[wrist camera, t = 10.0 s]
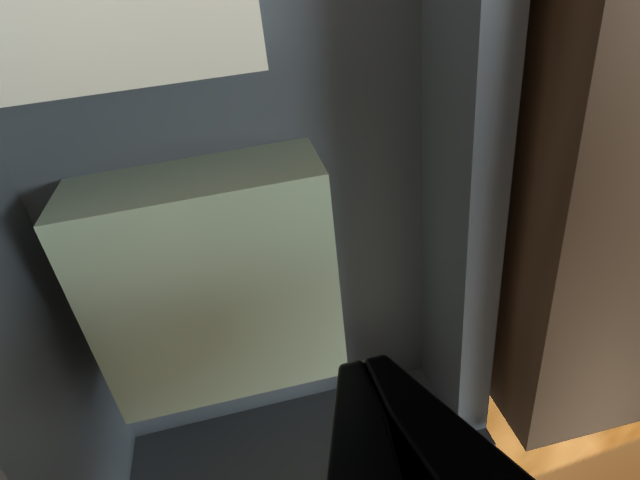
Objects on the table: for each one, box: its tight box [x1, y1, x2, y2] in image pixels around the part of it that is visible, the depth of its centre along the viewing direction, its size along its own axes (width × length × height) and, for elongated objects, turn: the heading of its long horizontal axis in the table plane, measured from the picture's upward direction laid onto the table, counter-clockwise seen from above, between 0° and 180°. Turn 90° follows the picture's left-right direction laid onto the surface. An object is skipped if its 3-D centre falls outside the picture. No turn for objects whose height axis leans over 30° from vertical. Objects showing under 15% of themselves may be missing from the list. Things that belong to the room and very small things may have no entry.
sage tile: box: [33, 137, 347, 424], centre depth 11 cm, size 5×5×2 cm
